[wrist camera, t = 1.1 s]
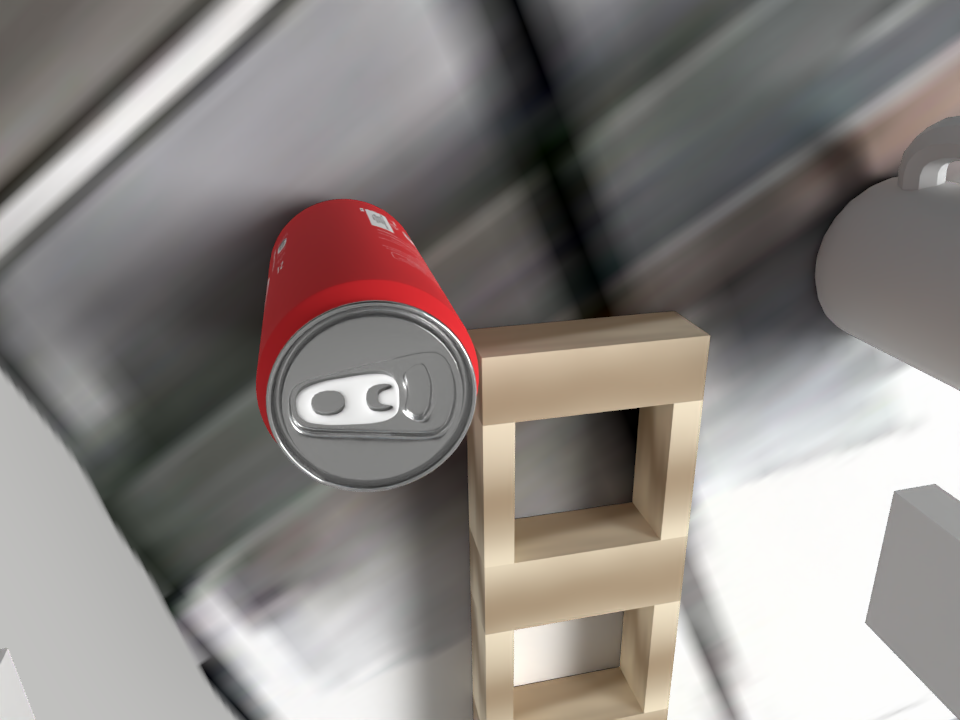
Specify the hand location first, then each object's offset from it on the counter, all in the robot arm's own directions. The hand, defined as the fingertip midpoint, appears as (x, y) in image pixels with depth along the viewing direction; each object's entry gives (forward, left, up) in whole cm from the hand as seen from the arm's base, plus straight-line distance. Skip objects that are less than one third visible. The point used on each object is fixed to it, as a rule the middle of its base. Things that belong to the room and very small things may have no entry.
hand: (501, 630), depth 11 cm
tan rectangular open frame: (+13, +8, -19) cm, 24 cm away
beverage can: (-1, -1, -19) cm, 19 cm away
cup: (-1, +22, -19) cm, 29 cm away
